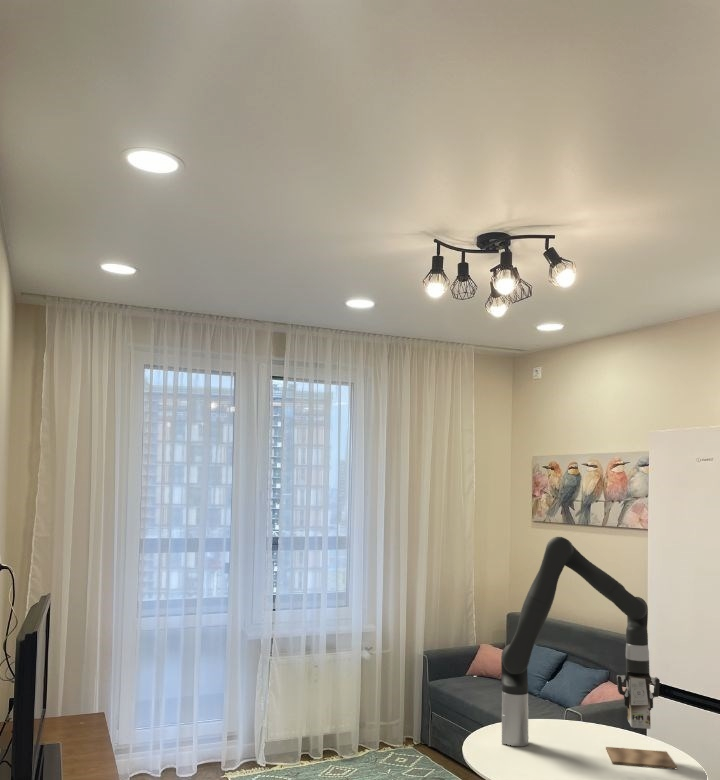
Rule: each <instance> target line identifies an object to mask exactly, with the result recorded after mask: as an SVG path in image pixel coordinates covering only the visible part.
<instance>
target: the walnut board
mask: <svg viewBox="0 0 720 780" xmlns="http://www.w3.org/2000/svg"><path fill="white" fill-rule="evenodd" d="M606 750H607V751H606ZM605 751H606V753H607V754H608V757H609V759H610V762H611V763H613V764H612V765H620V766H622V765H623V766H633V767H643V766H648V767H647V768H655V767H664V768H663V769H667V768H677V769H678V767H677V766H678V765H676V764H675V762H674V760H673V759H672V757H671V756H670V754H669V753H668V752H667V751H666V750H665V751H664V750H663V751H662V750H653V749H651V750H650V749H649V750H648V749H639V748H625V747H616V746H615V747H613V746H605Z"/></svg>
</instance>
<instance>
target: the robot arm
mask: <svg viewBox="0 0 720 780" xmlns="http://www.w3.org/2000/svg"><path fill="white" fill-rule="evenodd" d="M565 567H566V568H569V569H571V570H572V571H573V572H575V573H576V574H578V575H579V576H580V577H581V578H583V580H584V581H586V583H588V585H590V586H591V587H592V588H594V590H595V591H597V592H598V593H599V594H600V595H602V596H603V597H604V598H606V599H607V600H608V601H610V602H612V603H613V604H614V606H616V607H617V608H618V609H619V610H620V611H621V612H622V613H623V614H624V615H626V619H627V620H626V621H627V625H626V631H625V640H626V643H625V674H624V675H620V674H617V675H616V685H617V692H618V693H619V695H622V696H623V705H624V707H626V709H627V708H629V697H628V696H629V687H628V685H627V684H626V687H625V690H623V683H624V681H625V680H627V681H626V683H627V682H628V683H629V676H647V677H648V678H649V679H650V682H652V684H653V692H652V691H651V690H650V711H652V709H653V708H654V699H655V698H659V696H660V684H661V683H660V682H661V680H660V678H659V677H657V676H655V677H652V676H651V673H650V672H651V671H650V651H649V644H648V643H649V633H648V621H649V620H648V619H649V618H648V617H649V616H648V615H649V613H648V611H649V609H648V608H649V607H648V604H647V602H646V601H645V600H644V599H643V598H642V597H640V596H635V595H633V594H632V593H631V592H629V591H628V590H627V589H626V587H625V586H624V585H623V584H622V583H620V582H619V581H618V580H616V579H615V578H614V577H612V576H611V575H610V574H608V573H607V572H606V571H604V570H602V569H601V568H600V567H598V566H597V565H595V564H594V563H593V562H592V561H590V560H588V558H586V557H585V556H584V555H583V554H581V552H580V551H579V550H578V549H577V548H576V547H575V546H574V545H573V544H572V542H571V541H570V540H569V539H567V538H566V537H564V536H555V537H552V538H551V539H550V540H549V541H548V542H547V544H546V547H545V550H544V554H543V558H542V560H541V564H540V567H539V569H538V572H537V573H536V576H535V577H534V580H533V582H532V584H531V585H530V587H529V589H528V592H527V595H526V596H525V599H524V601H523V604H522V608H521V611H520V614H519V618H518V623H517V627H516V630H515V633H514V635H513V638H512V639H511V641H510V643H508V644H507V645H506V646H504V648H503V649H502V652H501V658H500V659H501V660H500V661H501V663H500V665H501V673H500V675H501V744H502V745H506V744H507V745H506V746H510V745H511V746H510V747H525V746H528V745H529V681H528V680H529V679H528V666H529V664H530V663H529V662H530V660H531V656H532V653H533V649H534V647H535V643H536V640H537V638H538V636H539V634H540V632H541V631H542V629H543V626H544V624H545V622H546V620H547V618H548V615H549V613H550V611H551V609H552V605H553V602H554V600H555V596H556V591H557V587H558V582H559V578H560V576H561V574H562V572H563V570H564V568H565Z"/></svg>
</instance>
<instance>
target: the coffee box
mask: <svg viewBox="0 0 720 780" xmlns="http://www.w3.org/2000/svg"><path fill="white" fill-rule="evenodd" d="M625 680H626V679H625ZM650 682H651V681H650V679H649V678H648V677H647V676H629V683H628V682H627V680H626V686H627V685H628V687H629V696H628V697H629V708H626V709H627V721H628V723H629V725H630V727H631V728H633V729H634V728H636V729H644V730H645V729H647V730H651V728H652V727H651V726H652V725H651V710H650V691H651V689H650V688H651V687H650Z"/></svg>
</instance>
